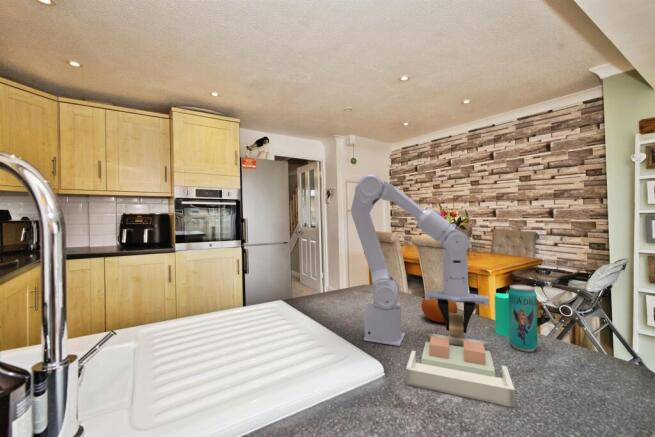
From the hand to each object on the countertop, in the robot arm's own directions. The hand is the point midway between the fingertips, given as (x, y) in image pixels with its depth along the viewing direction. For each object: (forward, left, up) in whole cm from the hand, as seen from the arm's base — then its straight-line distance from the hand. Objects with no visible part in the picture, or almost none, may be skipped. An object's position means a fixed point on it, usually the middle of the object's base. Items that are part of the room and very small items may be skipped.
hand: (456, 330), depth 73 cm
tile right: (+3, -10, -2) cm, 10 cm away
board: (0, -9, -4) cm, 10 cm away
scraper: (0, +1, -3) cm, 3 cm away
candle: (+13, +13, -4) cm, 19 cm away
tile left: (-4, -10, -2) cm, 10 cm away
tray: (0, -18, -4) cm, 19 cm away
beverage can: (+15, +4, -4) cm, 16 cm away
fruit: (-5, +17, -4) cm, 19 cm away
